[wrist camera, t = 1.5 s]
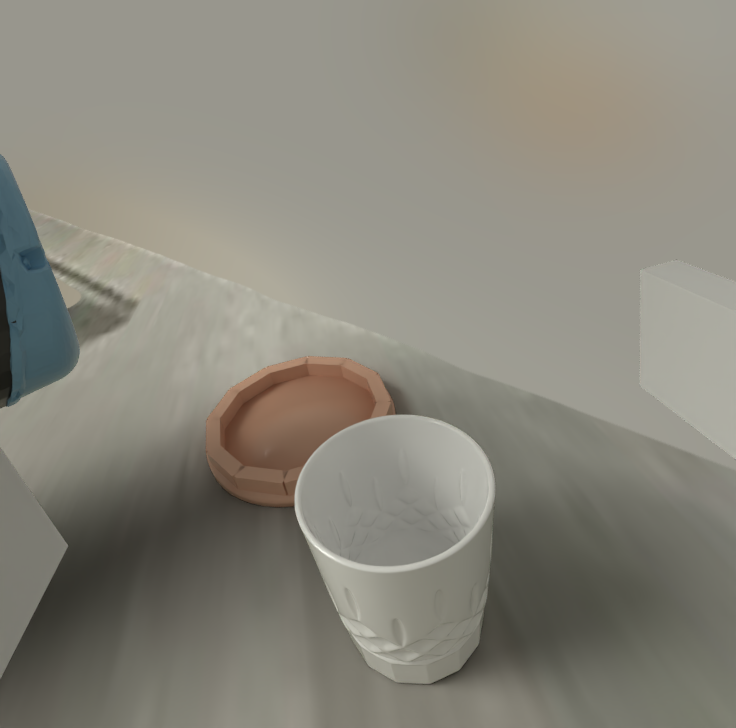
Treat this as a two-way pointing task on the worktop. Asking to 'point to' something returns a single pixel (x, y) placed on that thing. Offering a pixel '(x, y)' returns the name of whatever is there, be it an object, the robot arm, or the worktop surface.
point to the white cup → (402, 540)
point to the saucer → (287, 423)
